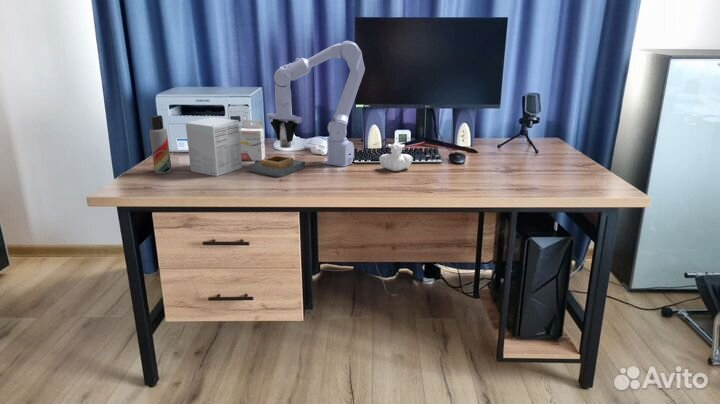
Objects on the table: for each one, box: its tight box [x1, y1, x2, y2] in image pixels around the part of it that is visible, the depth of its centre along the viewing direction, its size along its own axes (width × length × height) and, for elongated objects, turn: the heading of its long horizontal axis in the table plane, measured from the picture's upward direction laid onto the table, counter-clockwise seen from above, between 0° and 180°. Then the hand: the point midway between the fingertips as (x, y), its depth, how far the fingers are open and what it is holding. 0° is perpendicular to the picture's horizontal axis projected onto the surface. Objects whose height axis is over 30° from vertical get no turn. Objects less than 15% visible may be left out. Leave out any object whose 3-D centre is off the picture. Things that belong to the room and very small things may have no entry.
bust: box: [378, 142, 414, 172], centre depth 190 cm, size 12×8×11 cm
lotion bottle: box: [148, 114, 172, 175], centre depth 186 cm, size 6×6×20 cm
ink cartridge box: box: [239, 119, 266, 162], centre depth 204 cm, size 9×5×15 cm, turn 84°
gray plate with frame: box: [248, 154, 306, 178], centre depth 192 cm, size 17×14×4 cm
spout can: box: [279, 119, 292, 149], centre depth 195 cm, size 4×4×10 cm
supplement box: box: [185, 116, 243, 177], centre depth 190 cm, size 13×13×18 cm
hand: (285, 140), depth 196 cm, fingers closed on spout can, 4 cm apart
